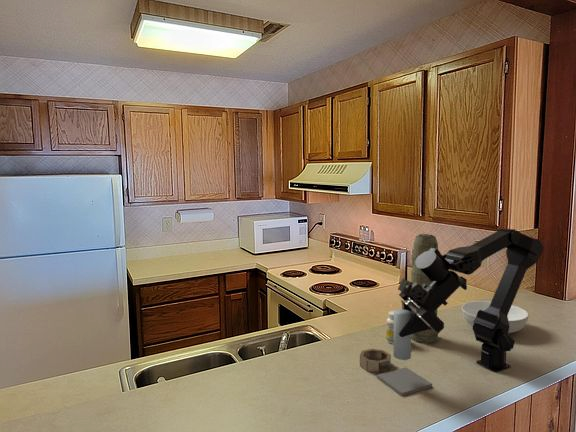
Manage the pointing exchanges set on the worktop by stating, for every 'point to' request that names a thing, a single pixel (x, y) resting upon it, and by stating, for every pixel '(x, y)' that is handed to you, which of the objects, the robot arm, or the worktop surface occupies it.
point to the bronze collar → (375, 366)
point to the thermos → (423, 282)
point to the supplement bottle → (390, 328)
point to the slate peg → (401, 343)
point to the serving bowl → (470, 309)
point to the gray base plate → (404, 381)
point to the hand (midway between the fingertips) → (397, 332)
